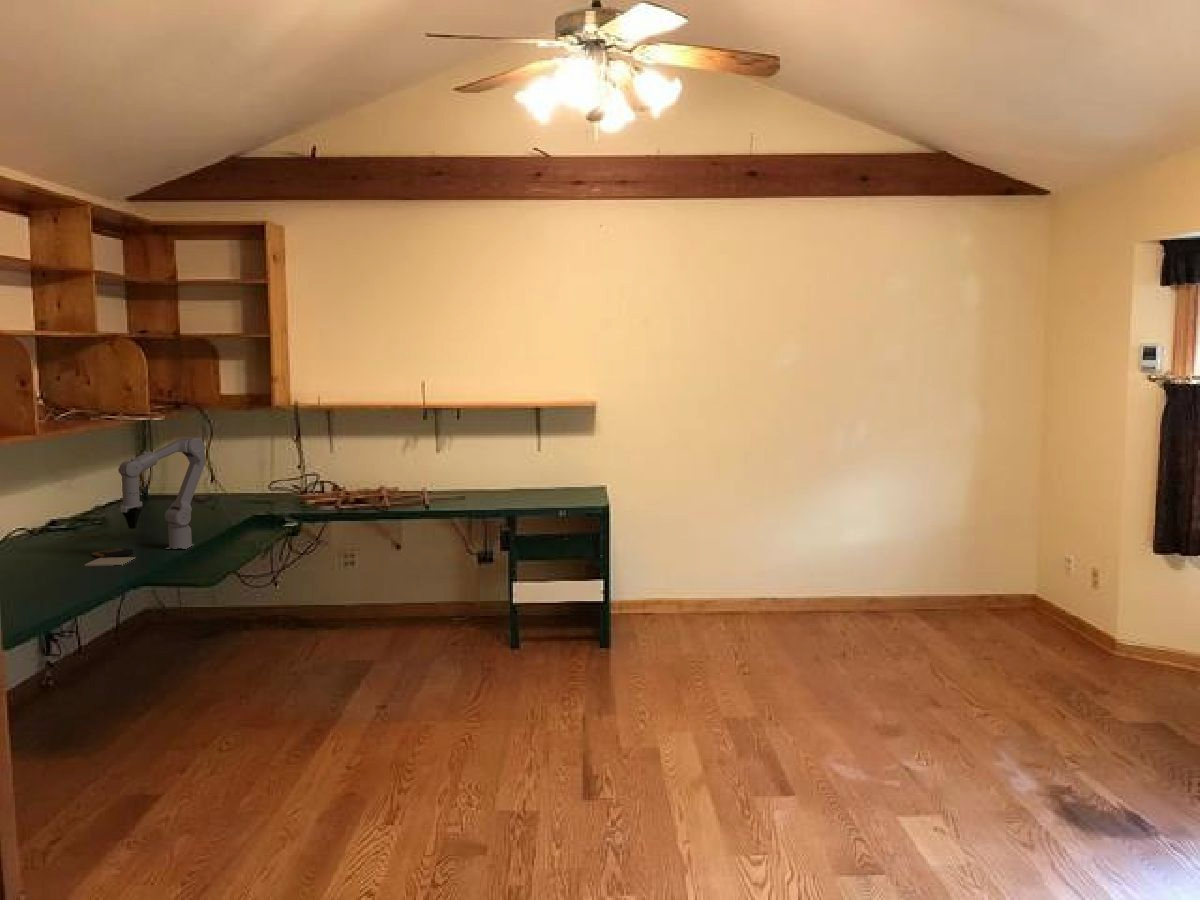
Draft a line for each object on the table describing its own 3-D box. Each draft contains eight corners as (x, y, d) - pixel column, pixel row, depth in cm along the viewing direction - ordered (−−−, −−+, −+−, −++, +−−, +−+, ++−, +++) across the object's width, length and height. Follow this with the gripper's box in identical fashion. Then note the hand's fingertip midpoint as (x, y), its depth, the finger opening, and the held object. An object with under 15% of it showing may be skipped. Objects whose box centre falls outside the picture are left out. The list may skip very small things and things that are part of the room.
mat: (100, 559, 356) (100, 557, 356) (135, 558, 357) (135, 557, 357) (84, 566, 344) (84, 564, 344) (121, 565, 345) (121, 564, 345)
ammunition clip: (104, 553, 355) (89, 551, 363) (104, 558, 355) (89, 556, 363) (133, 549, 364) (117, 547, 371) (133, 553, 364) (118, 552, 371)
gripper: (128, 490, 368) (130, 525, 369) (111, 495, 353) (113, 531, 355) (147, 490, 368) (148, 524, 369) (130, 495, 354) (132, 531, 355)
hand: (132, 528), depth 362 cm, fingers closed
